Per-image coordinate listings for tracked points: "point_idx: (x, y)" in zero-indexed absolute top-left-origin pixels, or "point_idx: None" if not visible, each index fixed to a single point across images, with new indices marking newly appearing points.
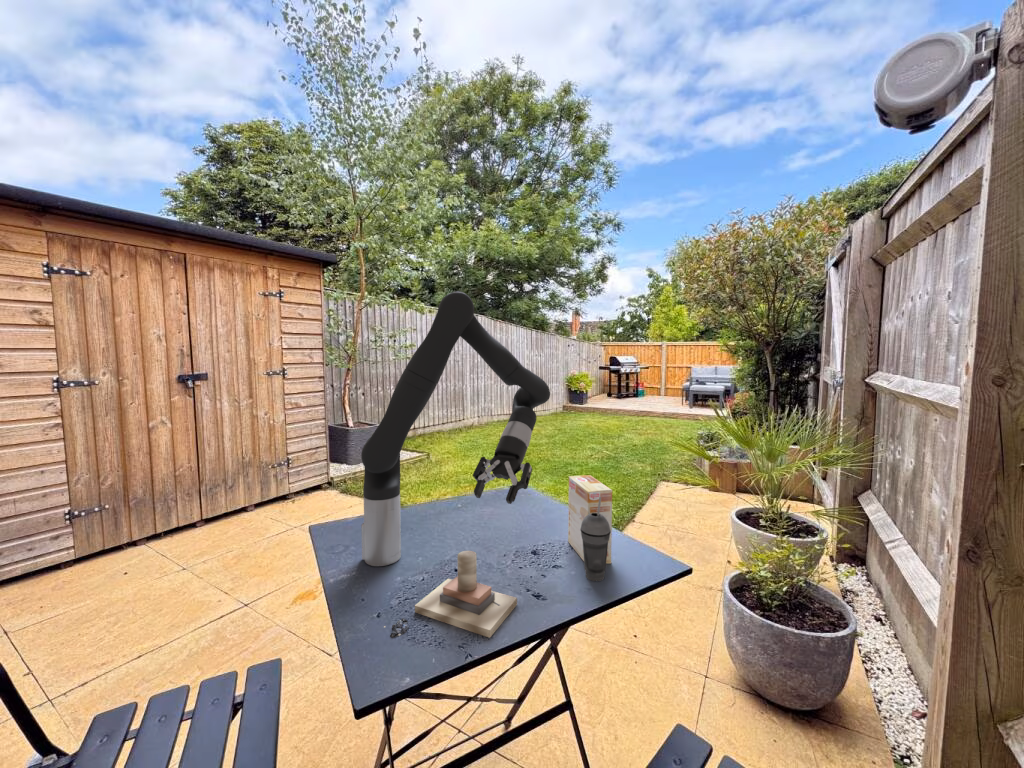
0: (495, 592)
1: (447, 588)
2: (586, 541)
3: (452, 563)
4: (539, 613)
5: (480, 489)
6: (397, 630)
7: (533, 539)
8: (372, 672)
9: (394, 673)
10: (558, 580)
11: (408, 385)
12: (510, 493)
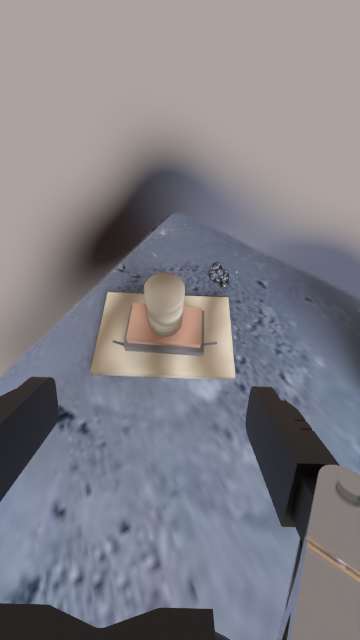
0: (132, 371)
1: (193, 307)
2: None
3: None
4: (52, 368)
5: (264, 432)
6: (215, 266)
7: None
8: (196, 229)
9: (178, 234)
10: (19, 504)
11: None
12: (5, 399)
